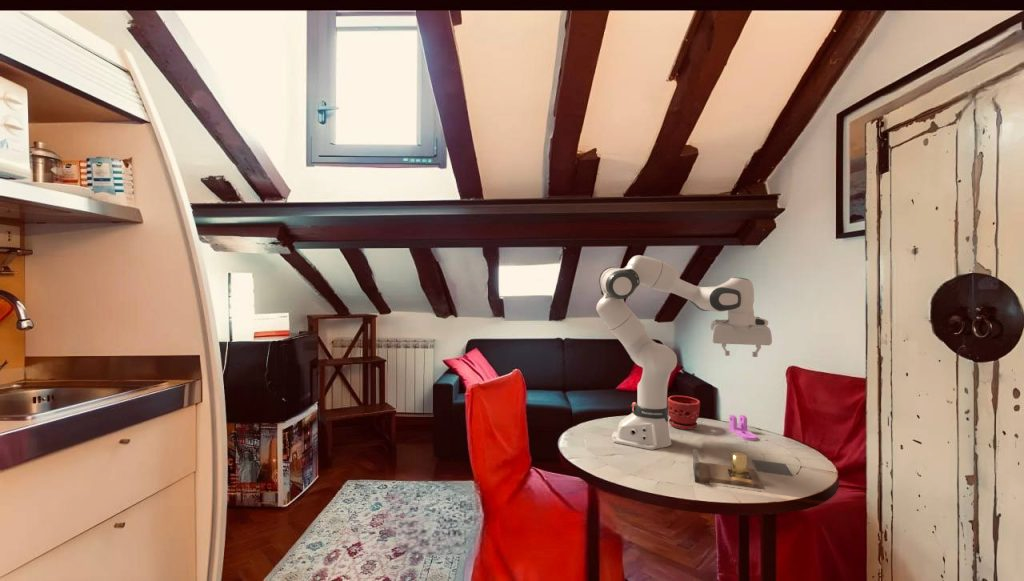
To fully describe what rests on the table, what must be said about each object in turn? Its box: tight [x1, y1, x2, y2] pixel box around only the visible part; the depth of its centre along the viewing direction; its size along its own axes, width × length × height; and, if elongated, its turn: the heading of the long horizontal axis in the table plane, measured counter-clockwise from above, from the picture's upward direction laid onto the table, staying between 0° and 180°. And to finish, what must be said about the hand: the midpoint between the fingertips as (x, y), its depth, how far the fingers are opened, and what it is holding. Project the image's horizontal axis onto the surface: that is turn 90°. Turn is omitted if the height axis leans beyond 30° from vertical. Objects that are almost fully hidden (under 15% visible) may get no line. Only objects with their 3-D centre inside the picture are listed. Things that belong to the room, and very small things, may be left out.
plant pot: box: [667, 395, 701, 430], centre depth 184 cm, size 13×13×12 cm
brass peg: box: [731, 452, 748, 479], centre depth 132 cm, size 4×4×8 cm
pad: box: [751, 459, 794, 477], centre depth 139 cm, size 10×10×1 cm
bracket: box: [728, 414, 758, 442], centre depth 173 cm, size 13×6×7 cm, turn 179°
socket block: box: [692, 448, 762, 493], centre depth 133 cm, size 18×12×6 cm, turn 69°
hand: (740, 356), depth 161 cm, fingers open, 8 cm apart
